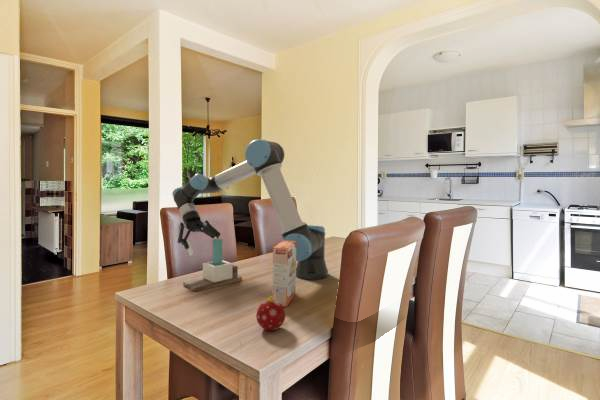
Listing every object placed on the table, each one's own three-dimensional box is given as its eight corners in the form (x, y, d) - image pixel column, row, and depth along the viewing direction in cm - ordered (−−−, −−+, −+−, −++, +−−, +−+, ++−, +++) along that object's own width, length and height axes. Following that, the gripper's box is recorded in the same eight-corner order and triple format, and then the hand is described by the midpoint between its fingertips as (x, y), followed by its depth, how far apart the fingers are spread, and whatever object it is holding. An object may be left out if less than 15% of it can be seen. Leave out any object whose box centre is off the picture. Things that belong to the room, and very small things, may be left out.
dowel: (224, 274, 146) (224, 239, 145) (215, 276, 143) (215, 240, 142) (219, 272, 149) (219, 238, 148) (211, 274, 146) (210, 239, 145)
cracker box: (288, 307, 119) (288, 248, 117) (271, 306, 120) (271, 247, 118) (296, 294, 132) (297, 240, 131) (281, 292, 134) (282, 239, 132)
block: (232, 278, 146) (232, 263, 145) (213, 282, 140) (213, 267, 139) (221, 273, 152) (221, 259, 152) (202, 277, 146) (202, 263, 146)
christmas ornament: (265, 338, 96) (265, 303, 95) (251, 327, 103) (251, 294, 102) (290, 330, 101) (291, 297, 100) (275, 320, 108) (275, 289, 107)
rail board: (242, 280, 149) (242, 265, 148) (195, 291, 133) (194, 275, 133) (229, 275, 156) (229, 261, 155) (183, 285, 141) (183, 270, 140)
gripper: (210, 218, 172) (227, 252, 163) (161, 222, 155) (176, 261, 145) (216, 208, 168) (233, 243, 159) (166, 211, 151) (182, 251, 141)
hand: (206, 251), depth 152 cm, fingers open, 13 cm apart
